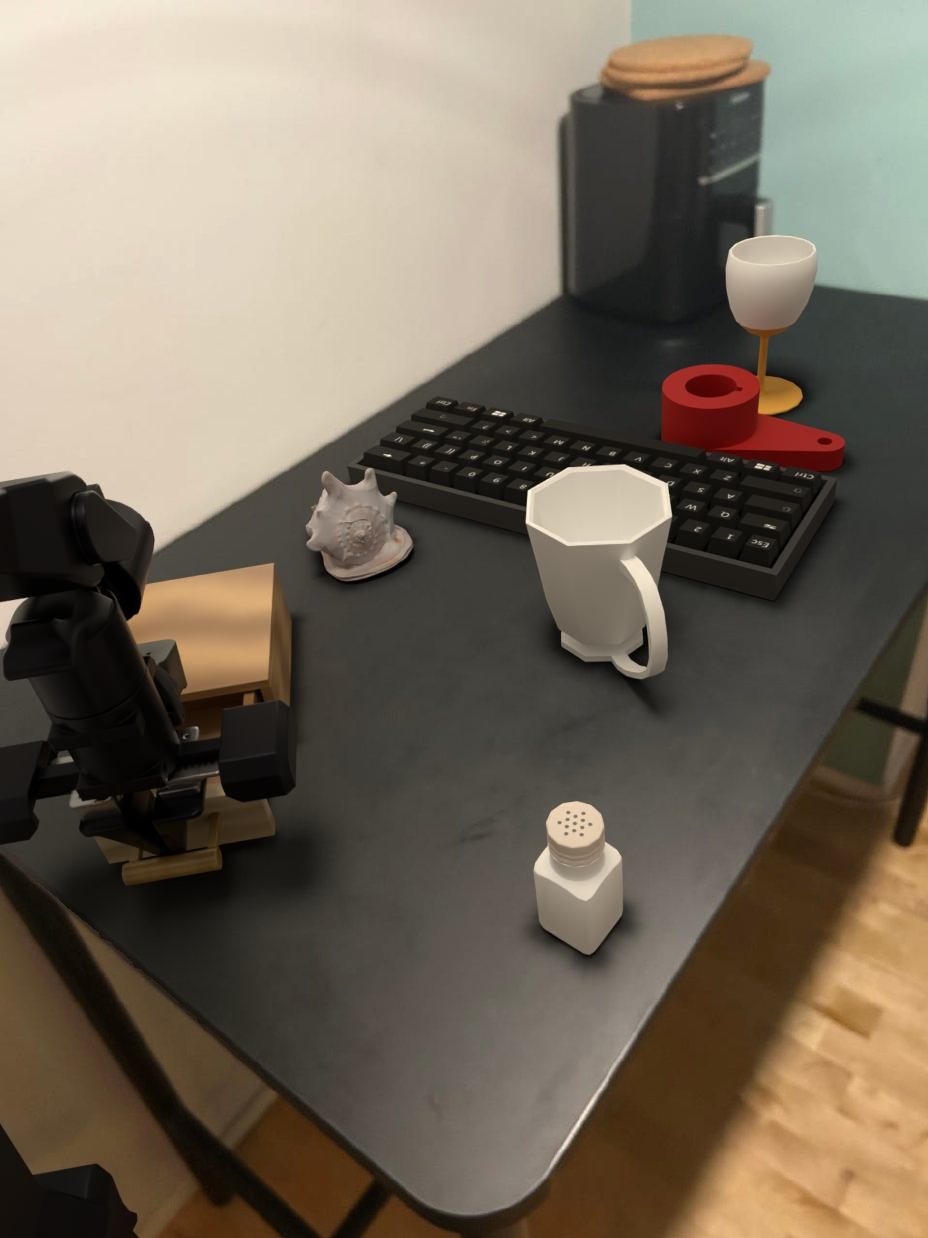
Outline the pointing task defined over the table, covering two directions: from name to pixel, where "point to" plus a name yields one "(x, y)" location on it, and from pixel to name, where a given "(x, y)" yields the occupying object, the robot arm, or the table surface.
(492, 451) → the computer keyboard
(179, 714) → the robot arm
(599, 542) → the cup
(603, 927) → the pepper shaker
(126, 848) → the drawer
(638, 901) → the table surface
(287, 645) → the cabinet
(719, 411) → the lever
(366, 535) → the seashell
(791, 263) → the cup
